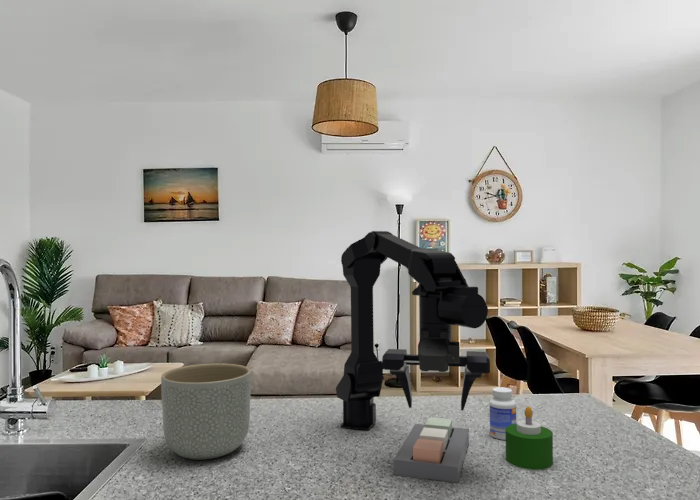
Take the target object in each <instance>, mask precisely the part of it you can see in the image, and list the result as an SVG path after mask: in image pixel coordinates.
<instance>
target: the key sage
mask: <svg viewBox="0 0 700 500" xmlns="http://www.w3.org/2000/svg"><path fill="white" fill-rule="evenodd" d="M425 425H426V428H435V429H446V430H448V437H449V438H450V436H451V433H452V427H453V419H452V418H451V419H450V418H440V417H428V419H427V421H426V423H425Z"/></svg>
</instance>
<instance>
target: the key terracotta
mask: <svg viewBox="0 0 700 500" xmlns="http://www.w3.org/2000/svg"><path fill="white" fill-rule="evenodd" d="M442 457H443V441H434V440H425V439H417V441H416V443H415V445H414V447H413V460H416V461H425V462H433V463H440V462H441V459H442Z"/></svg>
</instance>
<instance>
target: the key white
mask: <svg viewBox="0 0 700 500" xmlns="http://www.w3.org/2000/svg"><path fill="white" fill-rule="evenodd" d="M420 439H425V440H434V441H443V449H444V450H445V449H446V446H447V443H448V430H446V429H435V428H425V427H424V428H423V430H422V432H421V434H420Z"/></svg>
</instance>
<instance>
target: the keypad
mask: <svg viewBox="0 0 700 500" xmlns="http://www.w3.org/2000/svg"><path fill="white" fill-rule="evenodd" d="M424 427H425V428H426V424H423V423H422V424H420V423H415V424H414V425H413V427H412V428H411V430H410V431H409V433H408V434H407V436H406V438H405V440H404V441H403V443H402V444H401V446H400V448H399V450H398V452H397V453H396V455H395V457H394V458H393V463H392V464H393V466H392V467H393V476H394V475H395V476H401V477H402V476H403V477H409V478H418V479H424V480H433V481H442V482H449V483H456V484H457V483H459V479H460V475H461V473H462V472H461V471H462V467H463V464H464V460H465V457H466V454H467V450H468V447H469V446H468V445H469V443H470V429H469V428H464V427H455V426H454V427H453V426H452V433H451V436H450V438H449V437H448V443H447V446H446V449H445V450H444V449H443V457H442V459H441V462H440V463H433V462H425V461H416V460H413V447H414V445H415V443H416V441H417V439H420V434H421V432H422V430H423V428H424Z"/></svg>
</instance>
